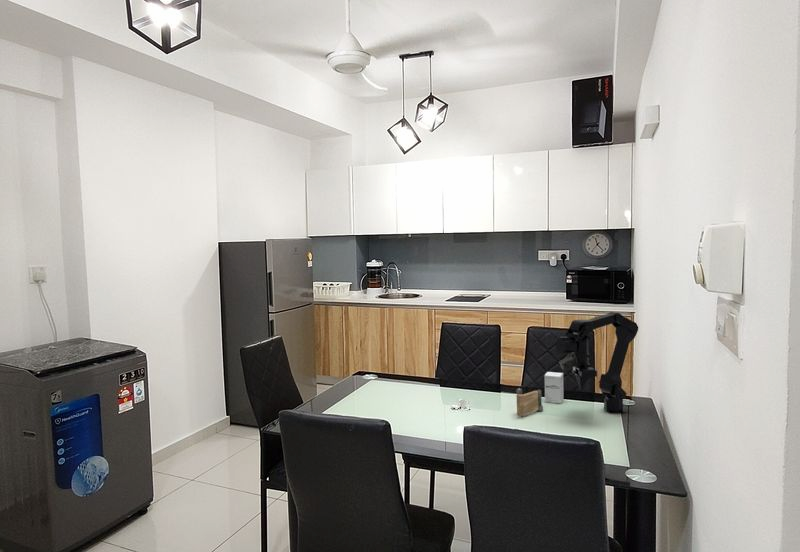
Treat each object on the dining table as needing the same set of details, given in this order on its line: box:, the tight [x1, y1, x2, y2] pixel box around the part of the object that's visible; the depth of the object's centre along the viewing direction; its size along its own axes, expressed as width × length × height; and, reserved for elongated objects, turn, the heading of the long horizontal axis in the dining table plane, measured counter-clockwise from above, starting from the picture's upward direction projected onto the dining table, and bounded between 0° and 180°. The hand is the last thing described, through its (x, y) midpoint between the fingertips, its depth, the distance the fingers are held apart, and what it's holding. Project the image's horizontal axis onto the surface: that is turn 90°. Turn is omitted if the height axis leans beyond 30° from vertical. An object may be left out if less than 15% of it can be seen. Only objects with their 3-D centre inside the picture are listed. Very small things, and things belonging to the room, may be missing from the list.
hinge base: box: [536, 405, 544, 413], centre depth 216 cm, size 3×3×2 cm
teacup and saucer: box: [450, 398, 470, 409], centre depth 224 cm, size 9×8×4 cm
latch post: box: [516, 387, 523, 396], centre depth 212 cm, size 2×2×11 cm
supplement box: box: [544, 371, 564, 404], centre depth 228 cm, size 7×7×13 cm
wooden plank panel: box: [516, 389, 543, 417], centre depth 212 cm, size 2×14×8 cm, turn 126°
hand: (581, 388), depth 205 cm, fingers closed
